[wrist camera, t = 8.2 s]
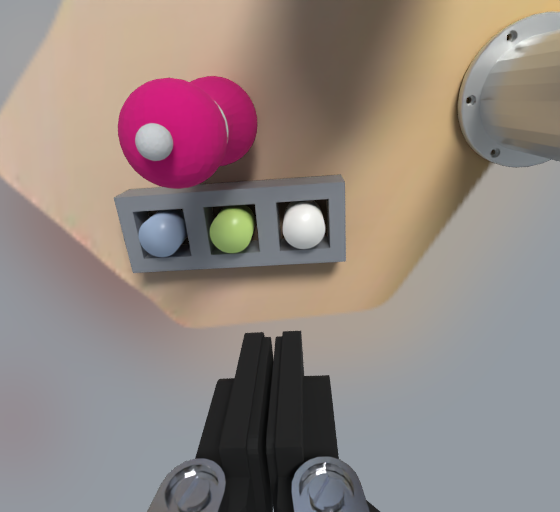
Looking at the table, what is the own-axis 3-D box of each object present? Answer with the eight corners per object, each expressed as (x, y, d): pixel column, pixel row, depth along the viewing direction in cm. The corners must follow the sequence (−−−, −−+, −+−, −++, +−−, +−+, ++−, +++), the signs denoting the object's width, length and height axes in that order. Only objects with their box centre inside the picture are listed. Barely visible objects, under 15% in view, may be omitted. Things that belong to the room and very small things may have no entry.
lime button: (253, 201, 38) (248, 212, 35) (257, 237, 40) (253, 251, 36) (215, 203, 39) (206, 215, 35) (220, 239, 40) (212, 254, 37)
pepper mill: (258, 161, 37) (221, 224, 19) (187, 154, 37) (80, 210, 19) (264, 82, 34) (226, 66, 16) (186, 74, 35) (60, 49, 16)
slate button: (186, 205, 39) (175, 217, 35) (193, 241, 40) (183, 256, 37) (149, 208, 39) (134, 219, 35) (157, 243, 41) (143, 258, 37)
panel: (340, 174, 37) (344, 181, 34) (341, 248, 41) (345, 261, 37) (128, 189, 39) (113, 197, 36) (145, 259, 42) (132, 272, 39)
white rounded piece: (321, 196, 38) (324, 207, 34) (323, 233, 39) (325, 247, 36) (282, 199, 38) (280, 210, 35) (285, 236, 40) (284, 250, 36)
